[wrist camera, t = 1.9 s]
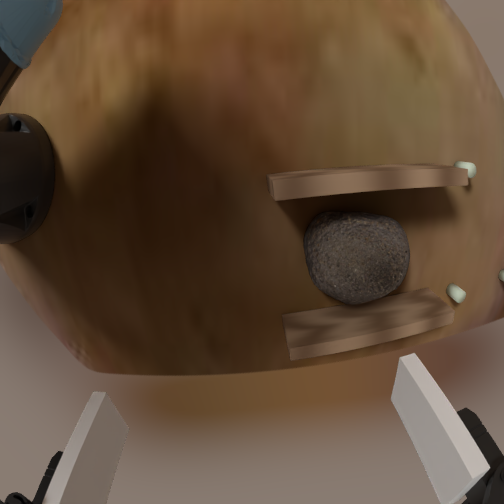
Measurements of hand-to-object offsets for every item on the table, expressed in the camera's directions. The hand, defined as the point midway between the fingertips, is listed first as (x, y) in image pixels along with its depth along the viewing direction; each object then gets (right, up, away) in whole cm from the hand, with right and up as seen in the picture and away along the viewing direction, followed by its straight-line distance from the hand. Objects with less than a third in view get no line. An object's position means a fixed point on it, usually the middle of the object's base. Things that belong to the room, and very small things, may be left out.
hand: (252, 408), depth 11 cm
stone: (+10, +7, +18) cm, 22 cm away
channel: (+11, +7, +18) cm, 22 cm away
